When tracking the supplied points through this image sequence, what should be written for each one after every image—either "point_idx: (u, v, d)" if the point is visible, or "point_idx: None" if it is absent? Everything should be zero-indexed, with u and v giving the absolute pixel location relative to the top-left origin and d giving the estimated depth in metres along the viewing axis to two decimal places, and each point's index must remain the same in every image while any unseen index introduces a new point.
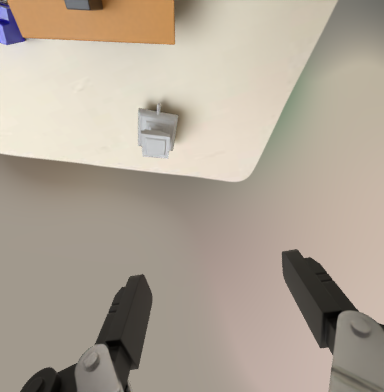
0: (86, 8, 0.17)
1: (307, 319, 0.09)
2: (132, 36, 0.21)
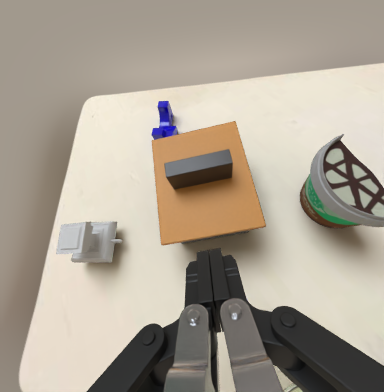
0: (166, 174, 0.23)
1: None
2: (161, 210, 0.26)
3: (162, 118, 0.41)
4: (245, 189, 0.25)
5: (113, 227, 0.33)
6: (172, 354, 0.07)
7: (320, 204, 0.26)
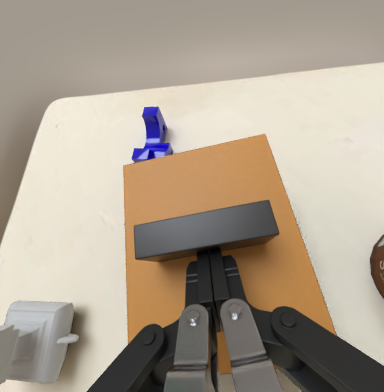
0: (136, 254, 0.11)
1: None
2: (133, 303, 0.14)
3: (150, 132, 0.28)
4: (294, 269, 0.13)
5: (63, 315, 0.20)
6: (172, 354, 0.07)
7: None
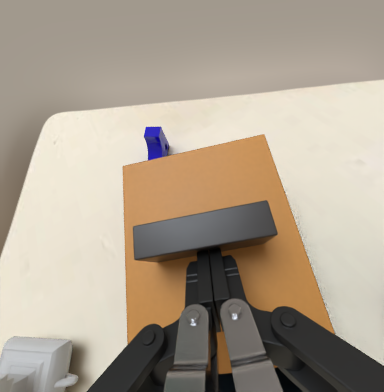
0: (135, 254, 0.11)
1: None
2: (133, 304, 0.14)
3: (152, 152, 0.27)
4: (293, 269, 0.13)
5: (61, 356, 0.19)
6: (172, 354, 0.07)
7: None
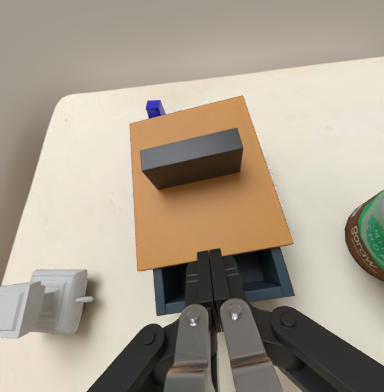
0: (142, 167, 0.15)
1: None
2: (139, 219, 0.18)
3: None
4: (260, 188, 0.18)
5: (80, 279, 0.23)
6: (172, 354, 0.07)
7: None
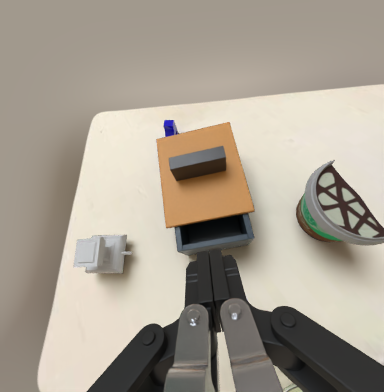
0: (170, 167, 0.28)
1: None
2: (166, 198, 0.31)
3: (167, 135, 0.43)
4: (237, 180, 0.30)
5: (123, 240, 0.35)
6: (172, 354, 0.07)
7: (313, 222, 0.29)
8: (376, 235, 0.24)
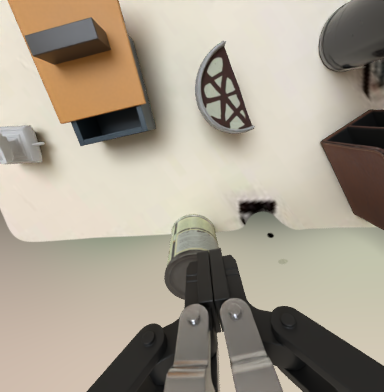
0: (32, 52, 0.23)
1: None
2: (49, 89, 0.28)
3: None
4: (126, 64, 0.27)
5: (28, 131, 0.35)
6: (172, 354, 0.07)
7: None
8: (241, 126, 0.29)
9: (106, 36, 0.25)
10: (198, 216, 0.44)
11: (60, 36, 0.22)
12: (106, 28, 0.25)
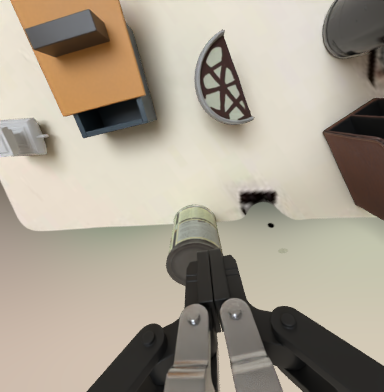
0: (32, 46, 0.23)
1: None
2: (51, 82, 0.28)
3: None
4: (125, 56, 0.27)
5: (32, 124, 0.36)
6: (172, 354, 0.07)
7: None
8: (241, 117, 0.29)
9: (105, 27, 0.25)
10: (199, 206, 0.45)
11: (59, 29, 0.22)
12: (104, 19, 0.25)
